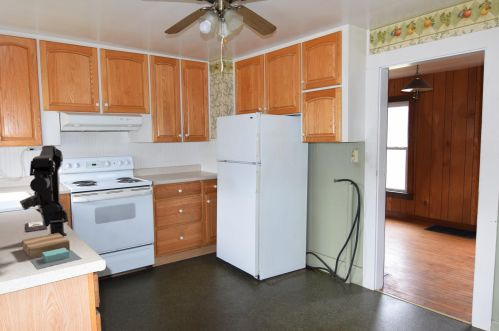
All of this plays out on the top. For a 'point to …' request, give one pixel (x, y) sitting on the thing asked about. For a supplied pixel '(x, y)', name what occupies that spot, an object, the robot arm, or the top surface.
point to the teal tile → (55, 255)
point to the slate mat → (41, 263)
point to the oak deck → (44, 244)
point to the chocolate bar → (35, 226)
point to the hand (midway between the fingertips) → (46, 226)
